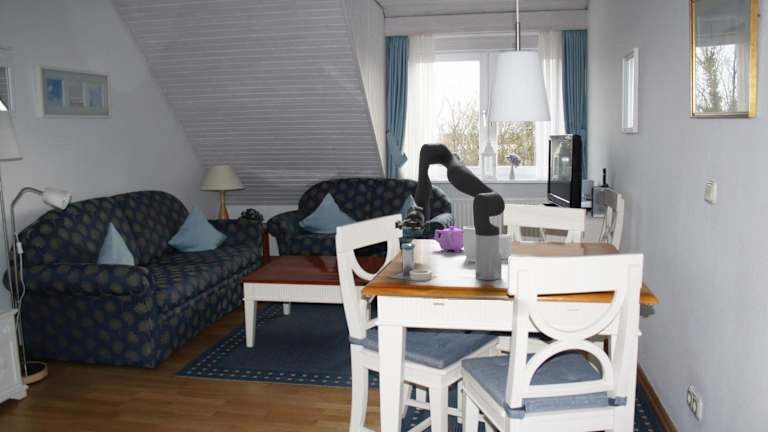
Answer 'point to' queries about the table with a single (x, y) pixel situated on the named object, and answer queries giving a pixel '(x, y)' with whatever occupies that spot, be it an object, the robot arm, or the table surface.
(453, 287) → the table surface
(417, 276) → the dock
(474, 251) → the jar
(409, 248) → the teal capped bottle
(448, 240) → the pot
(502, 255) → the white cup
